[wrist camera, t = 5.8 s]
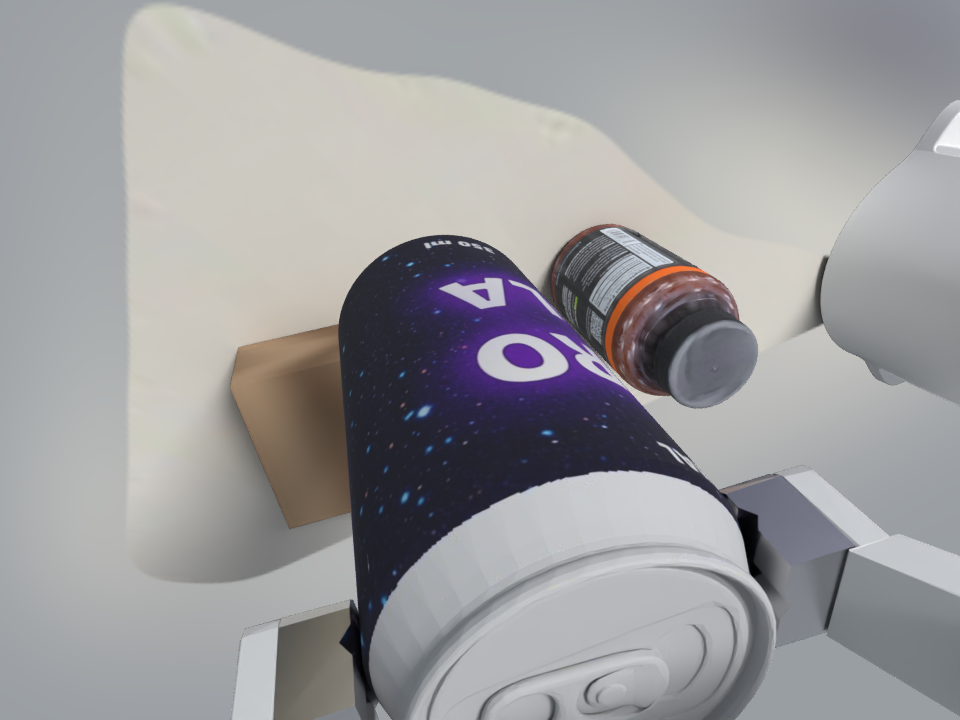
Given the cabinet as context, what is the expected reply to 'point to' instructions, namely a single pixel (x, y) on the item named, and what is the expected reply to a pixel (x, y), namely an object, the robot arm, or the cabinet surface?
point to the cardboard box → (297, 421)
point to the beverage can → (527, 513)
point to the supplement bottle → (654, 316)
